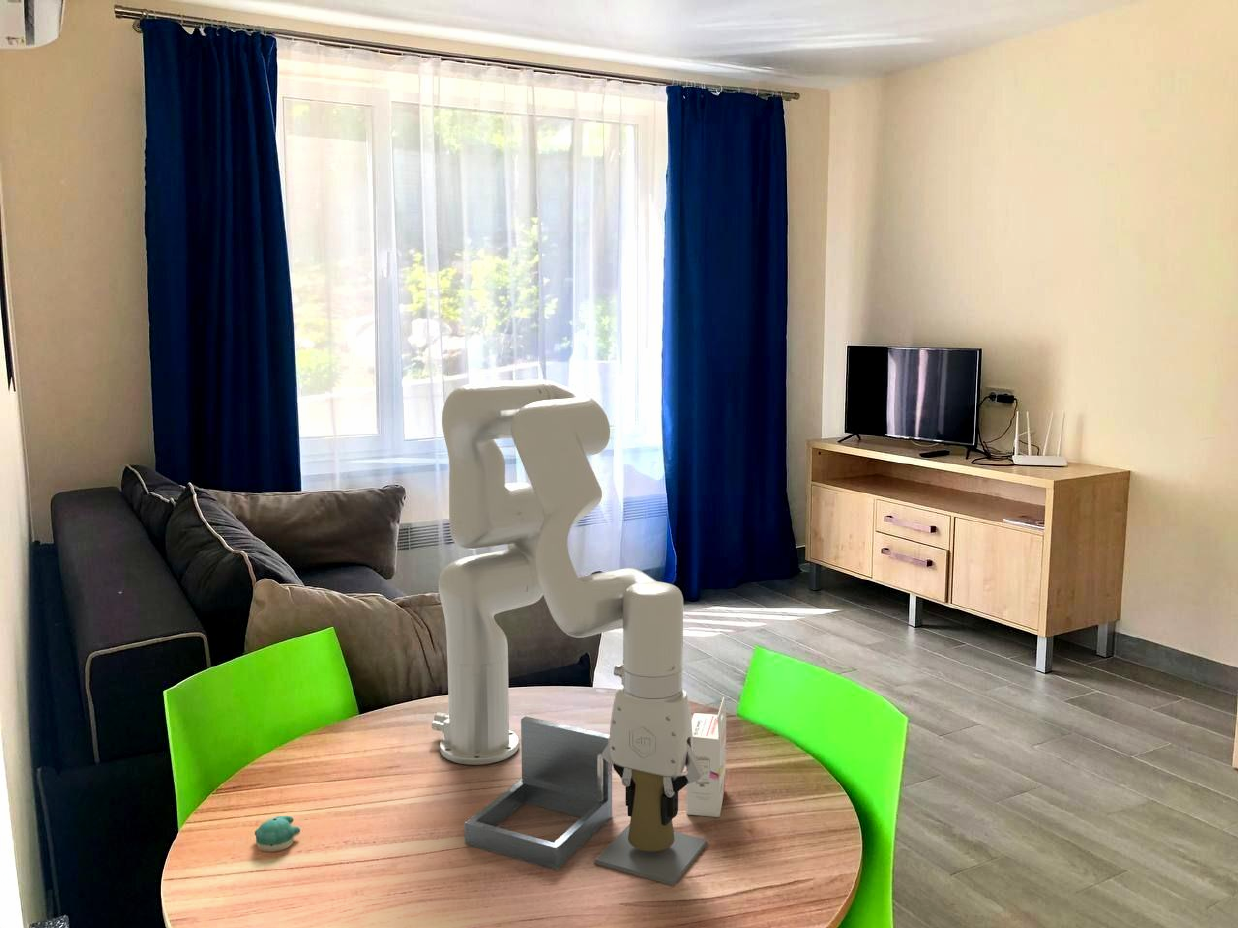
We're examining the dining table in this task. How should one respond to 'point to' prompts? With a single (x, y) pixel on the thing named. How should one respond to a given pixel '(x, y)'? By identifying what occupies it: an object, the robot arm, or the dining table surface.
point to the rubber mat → (652, 857)
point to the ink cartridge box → (708, 763)
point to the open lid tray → (550, 793)
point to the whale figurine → (276, 834)
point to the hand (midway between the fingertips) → (651, 814)
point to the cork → (649, 814)
